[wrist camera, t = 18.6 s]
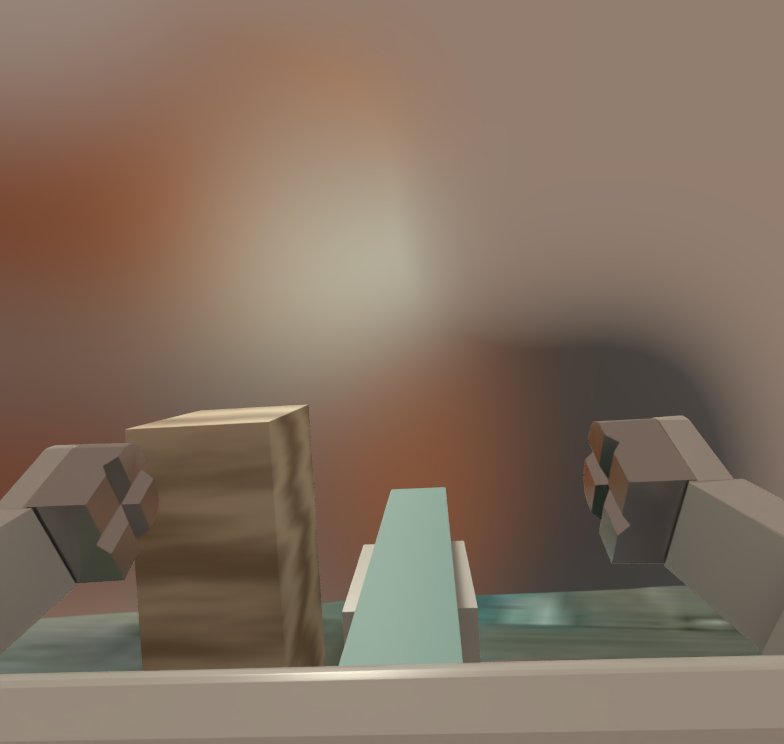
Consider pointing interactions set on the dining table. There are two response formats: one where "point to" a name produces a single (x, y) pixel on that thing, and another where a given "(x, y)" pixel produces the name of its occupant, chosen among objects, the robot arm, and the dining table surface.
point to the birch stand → (230, 542)
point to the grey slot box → (463, 596)
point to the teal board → (408, 588)
